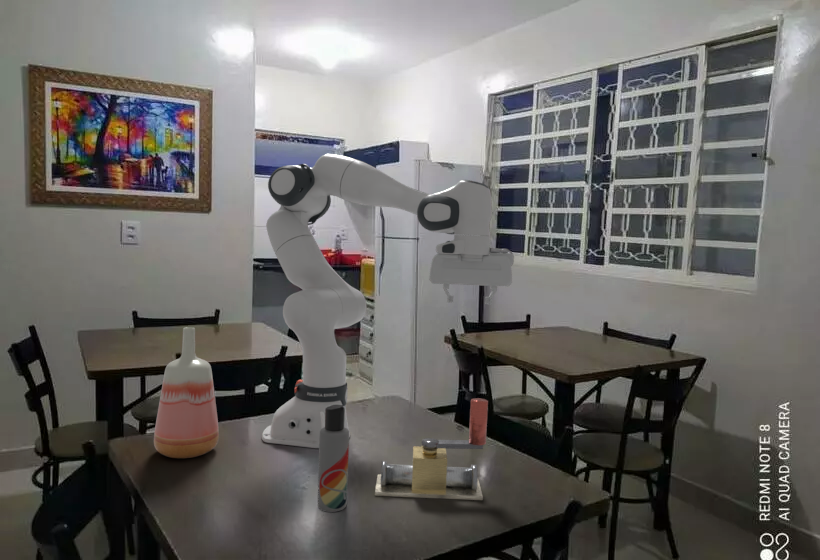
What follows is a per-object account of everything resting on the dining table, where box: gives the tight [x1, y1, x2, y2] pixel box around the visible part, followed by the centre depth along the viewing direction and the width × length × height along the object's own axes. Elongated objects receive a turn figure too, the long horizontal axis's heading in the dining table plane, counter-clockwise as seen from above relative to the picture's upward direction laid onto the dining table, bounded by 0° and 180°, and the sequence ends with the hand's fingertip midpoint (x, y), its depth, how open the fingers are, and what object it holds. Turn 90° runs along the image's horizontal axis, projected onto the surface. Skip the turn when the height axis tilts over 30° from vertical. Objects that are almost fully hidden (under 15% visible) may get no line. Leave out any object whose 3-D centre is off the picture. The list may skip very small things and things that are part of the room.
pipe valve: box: [374, 445, 484, 501], centre depth 127 cm, size 22×9×9 cm, turn 89°
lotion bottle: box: [317, 405, 350, 513], centre depth 117 cm, size 6×6×20 cm
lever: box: [421, 397, 489, 450], centre depth 127 cm, size 14×4×10 cm, turn 94°
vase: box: [153, 326, 220, 459], centre depth 142 cm, size 14×14×30 cm
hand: (469, 303), depth 149 cm, fingers open, 8 cm apart
